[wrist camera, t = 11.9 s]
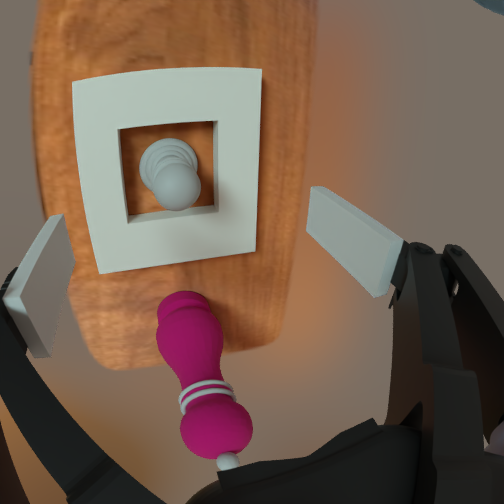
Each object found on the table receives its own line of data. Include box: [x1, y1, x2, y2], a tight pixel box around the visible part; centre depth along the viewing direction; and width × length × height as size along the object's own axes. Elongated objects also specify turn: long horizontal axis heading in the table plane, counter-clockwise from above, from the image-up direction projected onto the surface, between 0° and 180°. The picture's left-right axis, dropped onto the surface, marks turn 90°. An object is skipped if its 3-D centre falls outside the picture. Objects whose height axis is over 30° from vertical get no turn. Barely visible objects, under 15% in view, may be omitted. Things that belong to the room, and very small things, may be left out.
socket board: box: [72, 67, 262, 274], centre depth 25 cm, size 18×16×2 cm
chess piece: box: [139, 138, 201, 211], centre depth 22 cm, size 5×5×9 cm
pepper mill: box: [156, 291, 253, 471], centre depth 26 cm, size 7×7×20 cm
